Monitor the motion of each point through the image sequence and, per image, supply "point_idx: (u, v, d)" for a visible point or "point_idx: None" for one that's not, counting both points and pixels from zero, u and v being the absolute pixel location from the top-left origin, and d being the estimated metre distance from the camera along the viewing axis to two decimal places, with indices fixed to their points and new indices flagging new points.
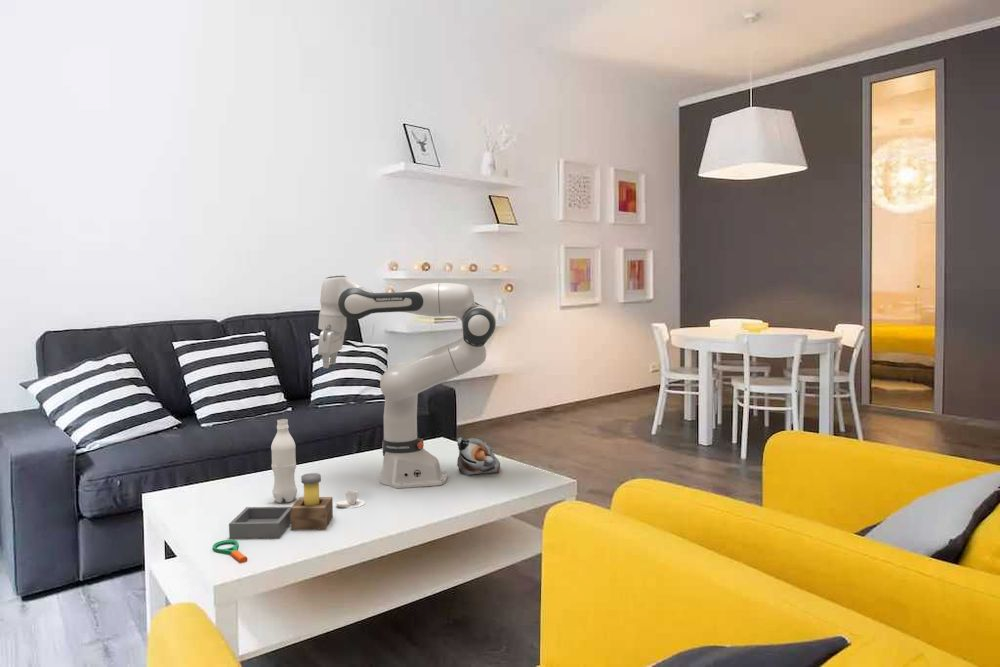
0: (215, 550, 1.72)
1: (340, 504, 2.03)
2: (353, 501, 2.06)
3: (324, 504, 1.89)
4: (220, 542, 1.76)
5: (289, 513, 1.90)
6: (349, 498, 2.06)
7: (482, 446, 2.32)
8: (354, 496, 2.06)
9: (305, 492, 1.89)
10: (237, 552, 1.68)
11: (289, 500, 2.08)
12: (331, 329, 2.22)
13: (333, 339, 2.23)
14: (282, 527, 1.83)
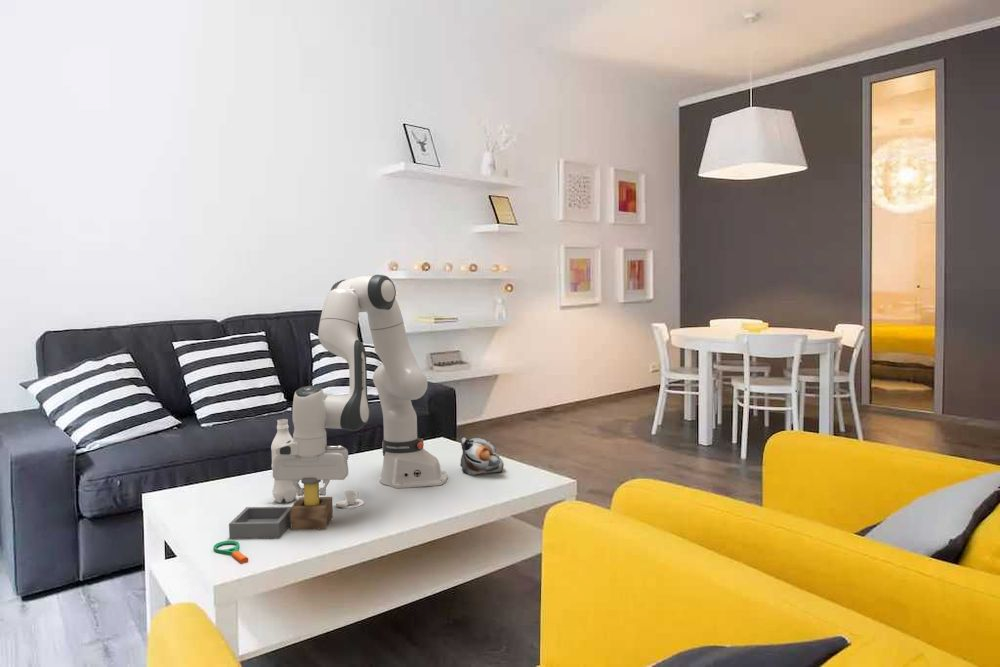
0: (216, 551, 1.71)
1: (339, 504, 2.03)
2: (352, 501, 2.06)
3: (324, 504, 1.89)
4: (221, 543, 1.76)
5: (289, 513, 1.90)
6: (348, 498, 2.06)
7: (487, 446, 2.33)
8: (353, 496, 2.06)
9: (305, 492, 1.89)
10: (238, 553, 1.68)
11: (289, 500, 2.08)
12: None
13: None
14: (282, 527, 1.83)
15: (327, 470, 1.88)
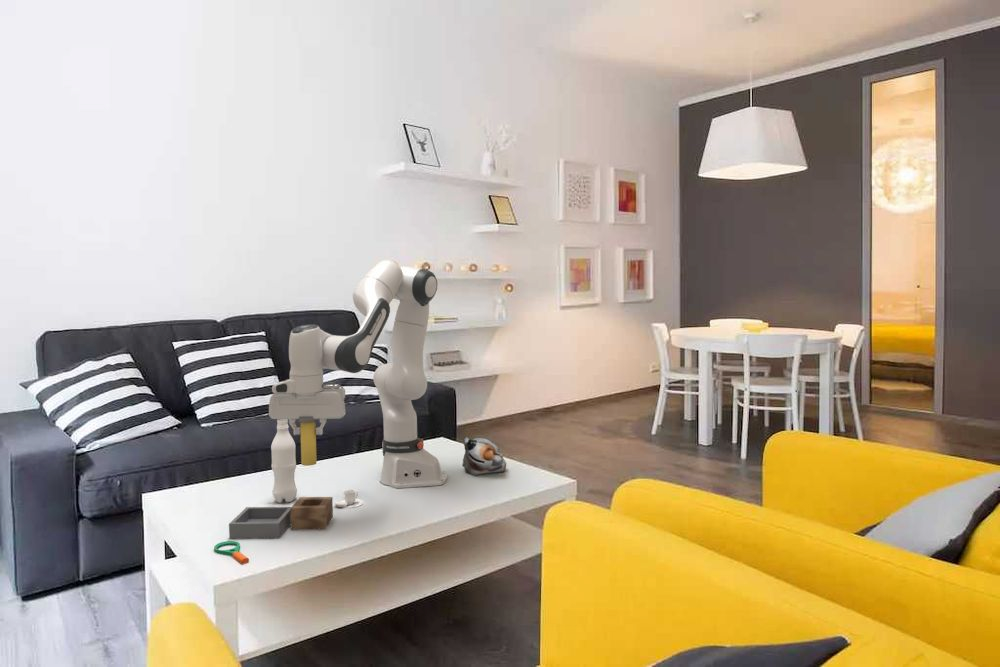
0: (216, 551, 1.71)
1: (338, 504, 2.03)
2: (351, 501, 2.06)
3: (324, 504, 1.89)
4: (221, 543, 1.75)
5: (289, 513, 1.90)
6: (347, 498, 2.06)
7: (490, 445, 2.33)
8: (352, 496, 2.06)
9: (301, 431, 1.87)
10: (239, 553, 1.68)
11: (289, 500, 2.08)
12: None
13: None
14: (282, 527, 1.83)
15: (323, 408, 1.86)
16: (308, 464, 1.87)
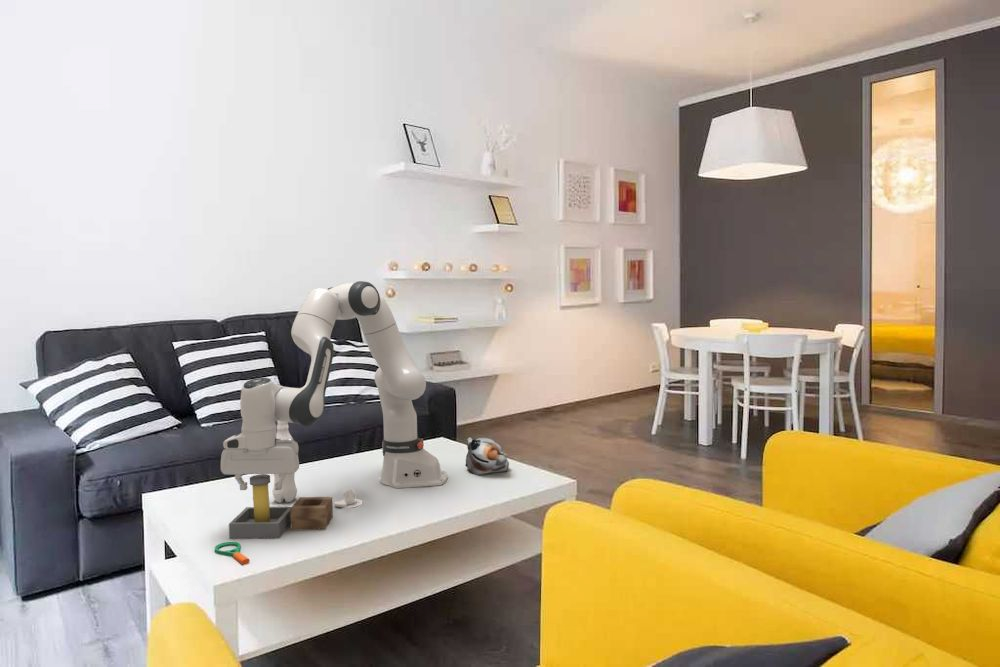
0: (217, 552, 1.71)
1: (338, 504, 2.03)
2: (351, 501, 2.06)
3: (324, 504, 1.89)
4: (222, 544, 1.75)
5: (289, 513, 1.90)
6: (346, 498, 2.06)
7: (494, 445, 2.33)
8: (352, 496, 2.06)
9: (254, 494, 1.84)
10: (239, 554, 1.67)
11: (289, 500, 2.08)
12: None
13: None
14: (282, 527, 1.83)
15: (276, 464, 1.83)
16: None
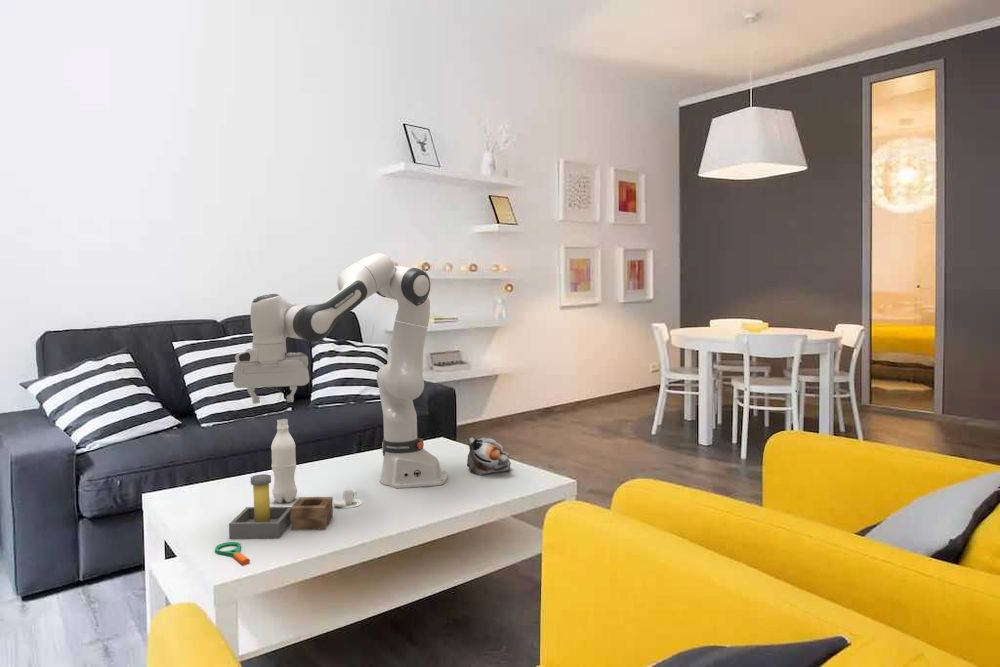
0: (217, 552, 1.70)
1: (337, 504, 2.03)
2: (350, 501, 2.06)
3: (324, 504, 1.89)
4: (223, 544, 1.75)
5: (289, 513, 1.90)
6: (346, 498, 2.06)
7: (496, 445, 2.34)
8: (351, 496, 2.06)
9: (254, 494, 1.84)
10: (239, 554, 1.67)
11: (289, 500, 2.08)
12: None
13: None
14: (282, 527, 1.83)
15: (287, 376, 1.89)
16: None
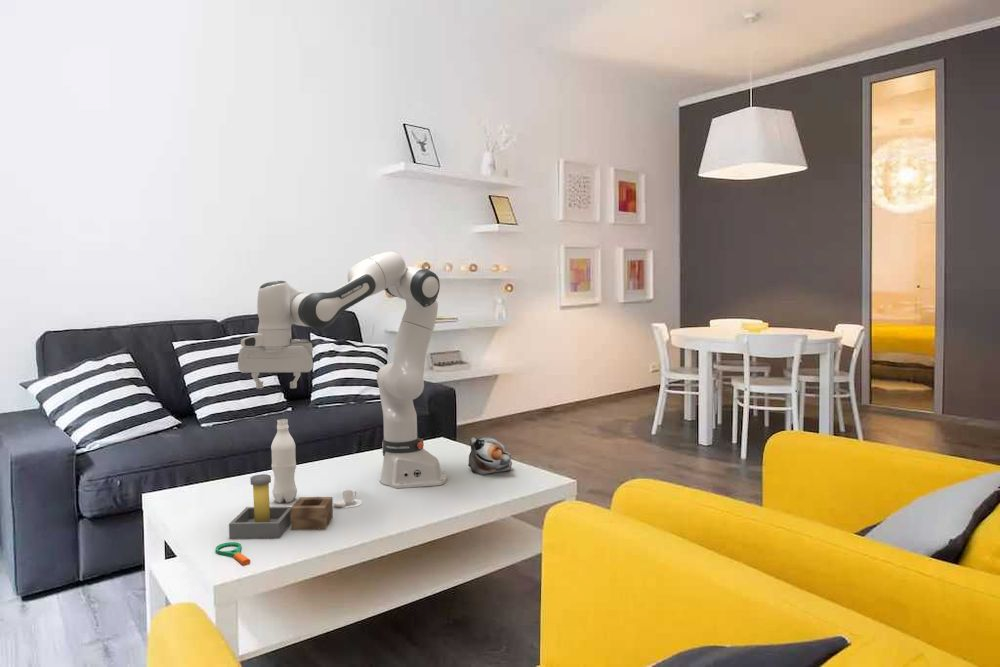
0: (218, 552, 1.70)
1: (337, 504, 2.03)
2: (350, 501, 2.07)
3: (324, 504, 1.89)
4: (223, 544, 1.75)
5: (289, 513, 1.90)
6: (346, 498, 2.06)
7: (498, 445, 2.34)
8: (351, 496, 2.06)
9: (254, 494, 1.84)
10: (240, 554, 1.67)
11: (289, 500, 2.08)
12: None
13: None
14: (282, 527, 1.83)
15: (291, 362, 1.91)
16: None
